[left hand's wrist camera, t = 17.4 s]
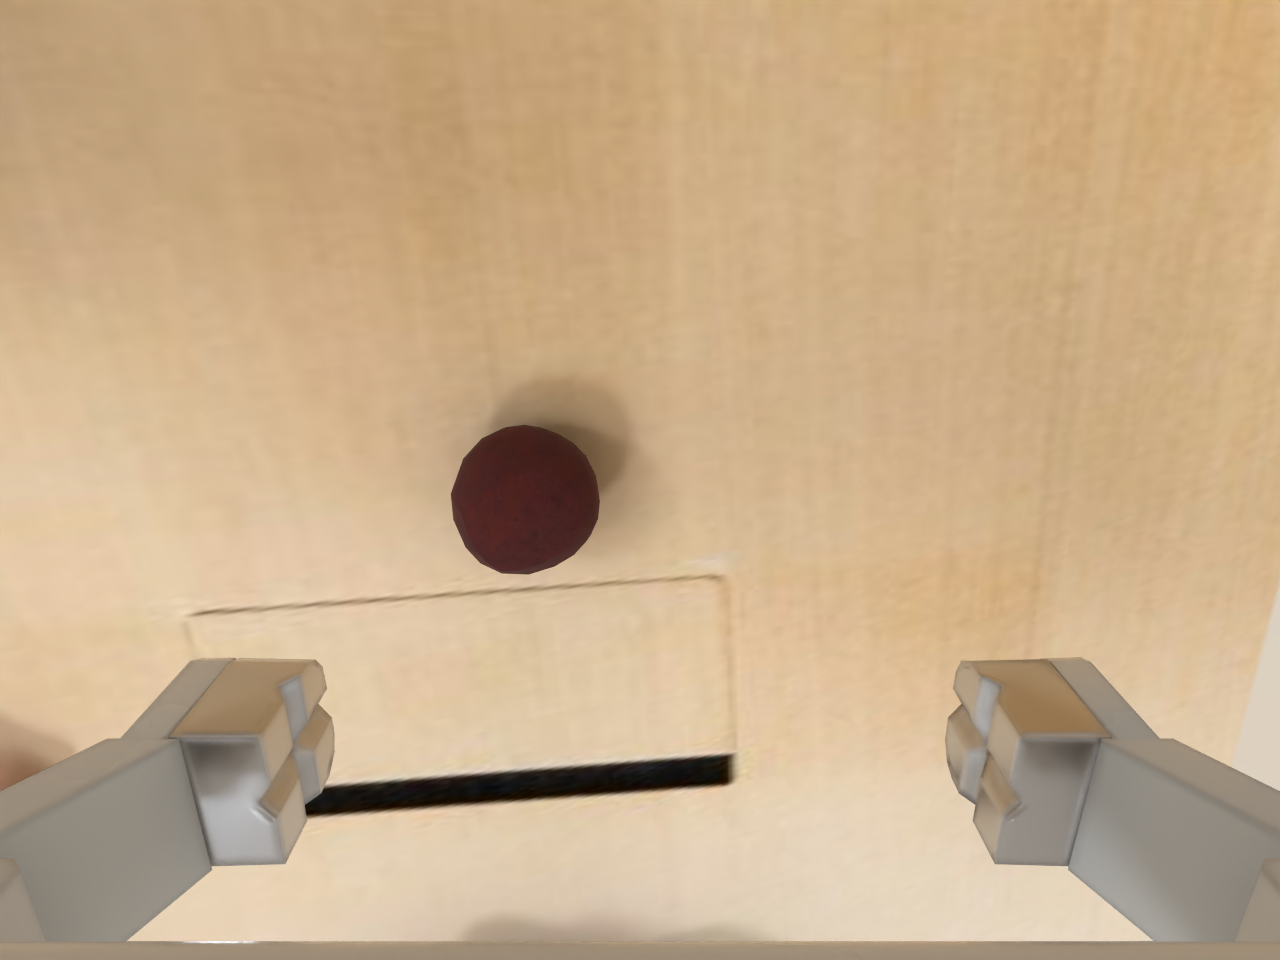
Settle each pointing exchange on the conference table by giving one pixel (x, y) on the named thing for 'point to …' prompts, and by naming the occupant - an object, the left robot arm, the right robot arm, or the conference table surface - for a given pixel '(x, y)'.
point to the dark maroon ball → (524, 500)
